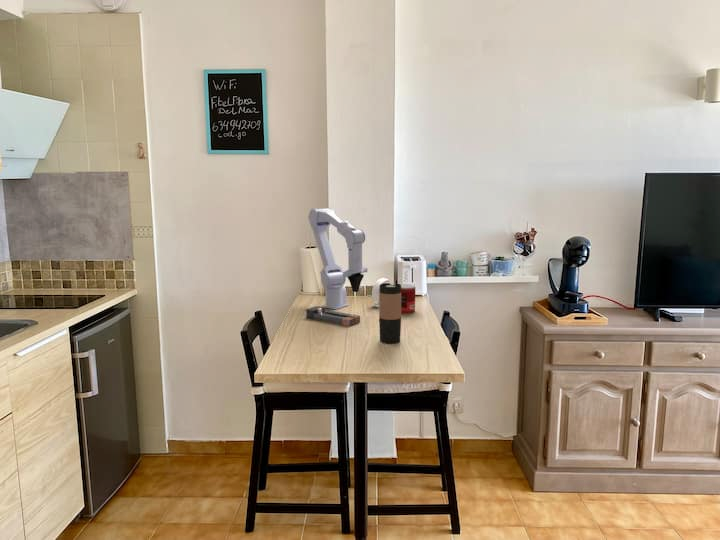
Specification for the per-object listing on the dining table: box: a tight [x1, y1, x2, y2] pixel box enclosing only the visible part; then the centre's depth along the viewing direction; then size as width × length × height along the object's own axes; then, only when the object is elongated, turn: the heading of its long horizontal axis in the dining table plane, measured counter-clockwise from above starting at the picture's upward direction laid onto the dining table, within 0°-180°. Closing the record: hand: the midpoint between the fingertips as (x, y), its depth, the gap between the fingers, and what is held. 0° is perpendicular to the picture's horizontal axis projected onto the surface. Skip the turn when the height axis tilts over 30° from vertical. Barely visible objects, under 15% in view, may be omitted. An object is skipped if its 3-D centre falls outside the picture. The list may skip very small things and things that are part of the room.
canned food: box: [400, 283, 416, 314], centre depth 237 cm, size 8×8×11 cm
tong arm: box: [325, 309, 361, 325], centre depth 223 cm, size 16×3×3 cm, turn 54°
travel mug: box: [378, 282, 402, 345], centre depth 194 cm, size 8×8×20 cm
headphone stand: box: [371, 277, 390, 308], centre depth 246 cm, size 5×6×12 cm
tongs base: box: [305, 305, 355, 327], centre depth 223 cm, size 22×7×4 cm, turn 54°
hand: (355, 291), depth 233 cm, fingers closed
